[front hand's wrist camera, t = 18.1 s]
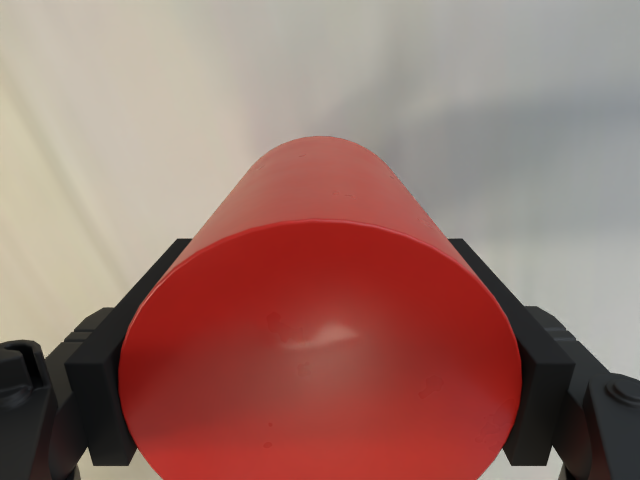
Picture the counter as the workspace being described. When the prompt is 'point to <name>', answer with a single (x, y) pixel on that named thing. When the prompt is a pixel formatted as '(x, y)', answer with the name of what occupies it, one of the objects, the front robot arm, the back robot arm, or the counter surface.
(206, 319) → the tin
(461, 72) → the counter surface
